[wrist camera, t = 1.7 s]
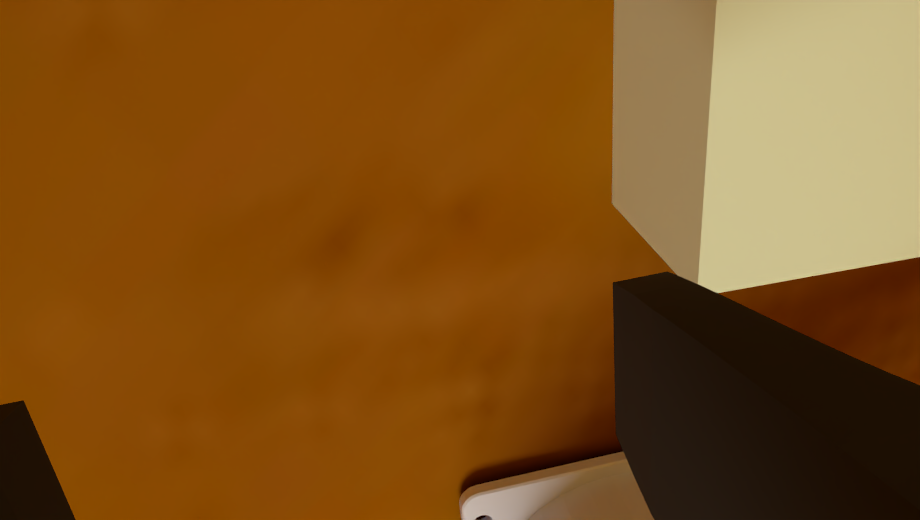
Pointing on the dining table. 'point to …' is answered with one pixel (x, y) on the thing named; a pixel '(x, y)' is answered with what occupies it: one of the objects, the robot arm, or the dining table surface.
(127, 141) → the dining table surface
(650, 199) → the block
